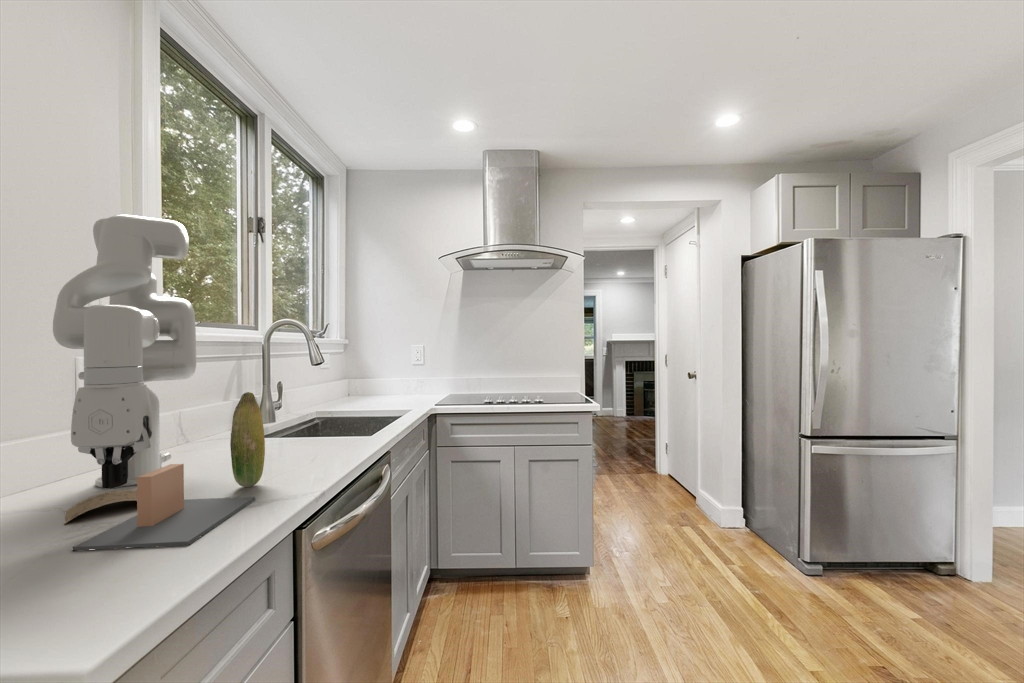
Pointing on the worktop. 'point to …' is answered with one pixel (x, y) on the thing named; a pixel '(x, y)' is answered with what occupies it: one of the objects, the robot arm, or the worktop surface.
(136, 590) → the worktop surface
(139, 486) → the block
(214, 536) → the worktop surface
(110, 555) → the worktop surface
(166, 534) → the mat
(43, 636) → the worktop surface
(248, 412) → the vegetable
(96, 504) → the cork arch piece
